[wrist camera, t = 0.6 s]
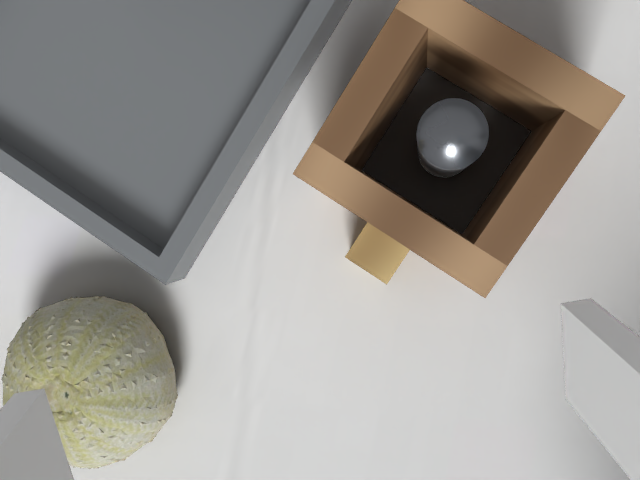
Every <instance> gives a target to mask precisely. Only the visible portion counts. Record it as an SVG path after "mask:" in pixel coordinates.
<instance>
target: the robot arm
mask: <svg viewBox="0 0 640 480" xmlns="http://www.w3.org/2000/svg"><path fill="white" fill-rule="evenodd" d="M561 319H562V339H563V359H564V378H565V398H566V401H567V402H568V403H569V404H570V406H571V407H572V408H573V409H574V411H575V412H576V413H577V414H578V416H579V417H580V418H581V419H582V421H583V422H584V423H585V424H586V425H587V427H588V428H589V429H590V430H591V432H592V433H593V434H594V435H595V437H596V438H597V439H598V440H599V441H600V443H601V444H602V445H603V446H604V448H605V449H606V450H607V451H608V453H609V454H610V455H611V456H612V457H613V459H614V460H615V461H616V462H617V464H618V465H619V466H620V467H621V469H622V470H623V471H624V472H625V474H626V475H627V476H628V477H629V478H630V480H640V337H639V336H638V335H637V334H635V333H634V332H633V331H632V330H630V329H629V328H628V327H627V326H625V325H624V324H623V323H621V322H620V321H619V320H618V319H616V318H615V317H614V316H613V315H611V314H610V313H609V312H607V311H606V310H605V309H604V308H602V307H601V306H600V305H599V304H597V303H596V302H595V301H594V300H592V299H585V300H579V301H573V302H567V303H561ZM0 480H74V478H73V475H72V472H71V469H70V466H69V463H68V460H67V457H66V454H65V451H64V448H63V444H62V441H61V438H60V435H59V432H58V429H57V426H56V423H55V420H54V417H53V414H52V411H51V408H50V405H49V402H48V398H47V395H46V392H45V389H38V390H32V391H26V392H20V393H14V394H13V396H12V397H11V398H10V399H9V400H8V401H7V403H6V404H5V405H4V406H3V407H2V408H1V410H0Z"/></svg>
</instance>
